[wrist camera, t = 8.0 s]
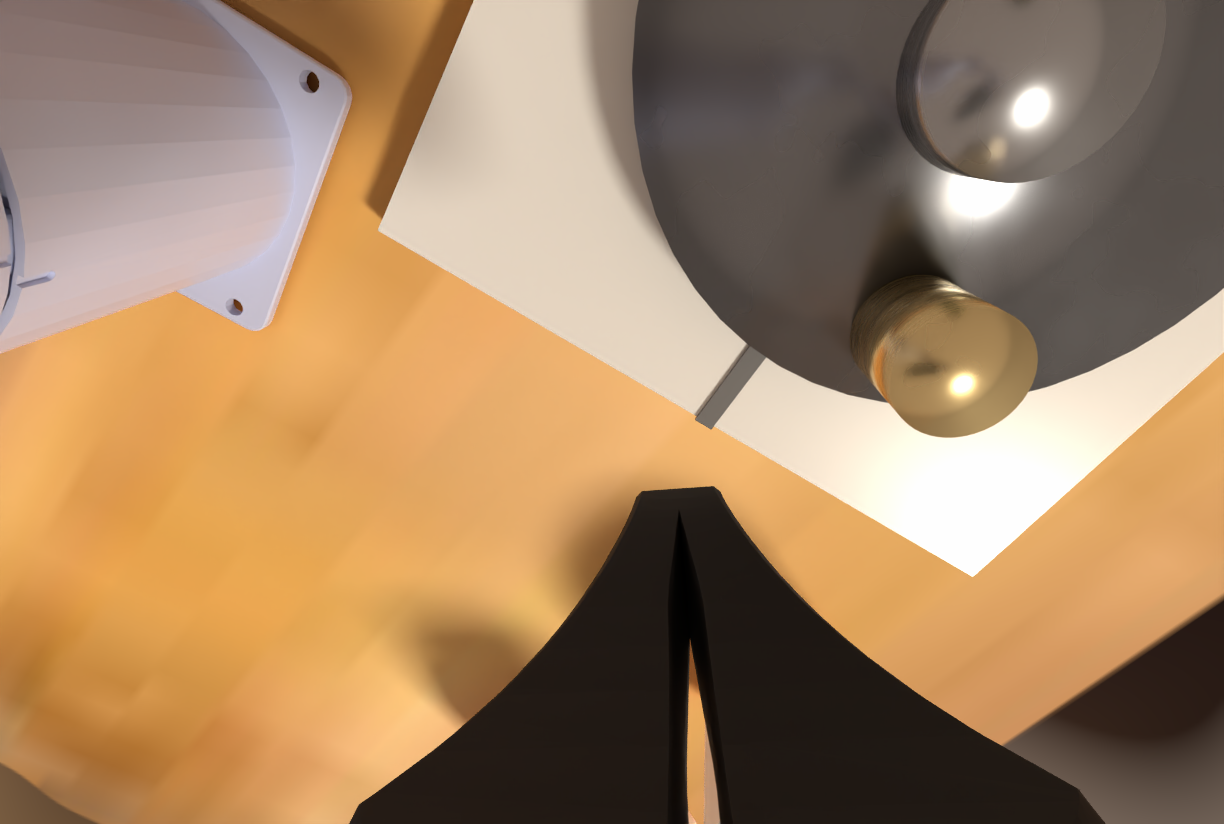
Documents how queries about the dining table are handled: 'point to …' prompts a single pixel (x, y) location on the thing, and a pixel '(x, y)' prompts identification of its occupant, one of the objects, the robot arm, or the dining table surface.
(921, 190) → the handwheel
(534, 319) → the wheel base
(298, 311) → the dining table surface
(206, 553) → the dining table surface
